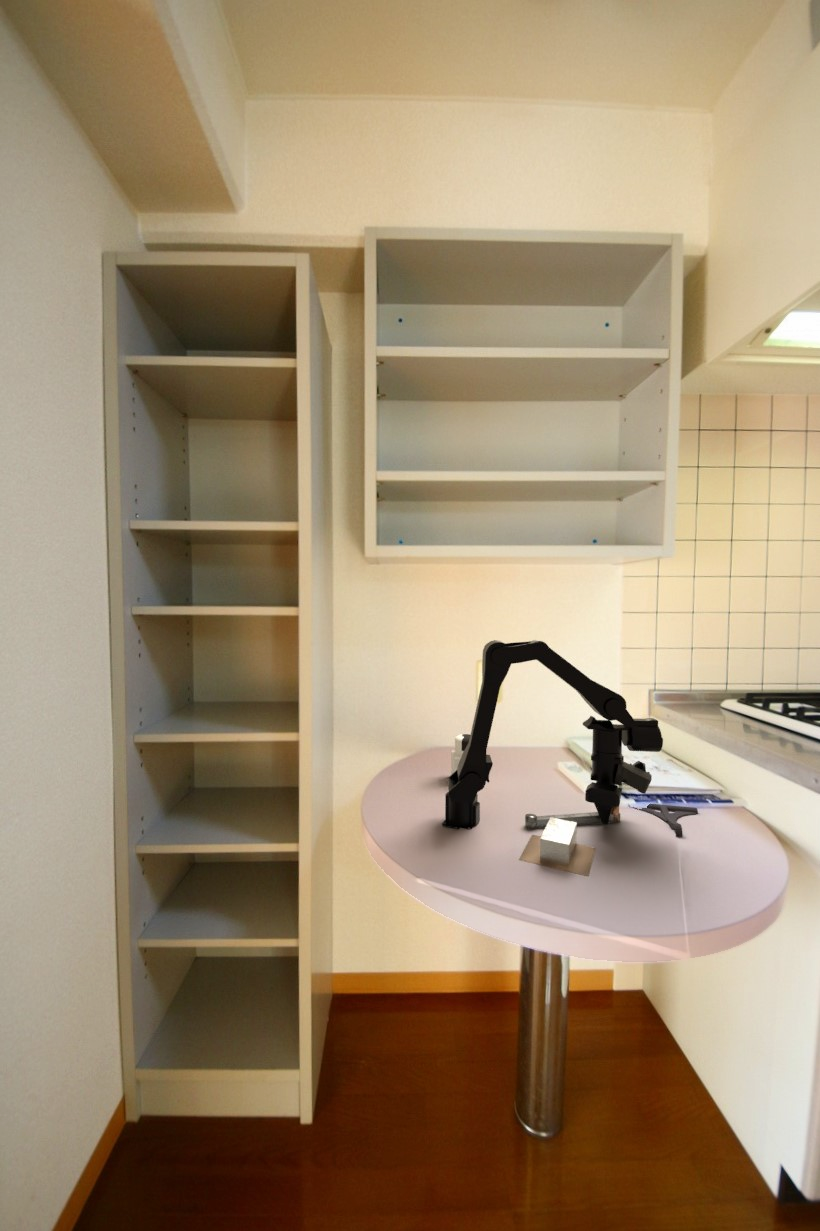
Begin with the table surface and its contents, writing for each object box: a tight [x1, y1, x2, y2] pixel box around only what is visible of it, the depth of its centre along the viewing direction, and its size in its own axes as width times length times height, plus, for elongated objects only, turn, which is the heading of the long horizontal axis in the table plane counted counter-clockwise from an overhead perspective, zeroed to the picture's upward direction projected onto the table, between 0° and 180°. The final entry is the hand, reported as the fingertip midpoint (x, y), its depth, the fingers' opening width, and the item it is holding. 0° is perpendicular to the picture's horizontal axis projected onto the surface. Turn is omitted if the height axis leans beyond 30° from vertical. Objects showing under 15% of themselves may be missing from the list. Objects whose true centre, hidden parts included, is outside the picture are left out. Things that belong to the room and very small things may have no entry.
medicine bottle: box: [450, 733, 471, 776], centre depth 131 cm, size 7×7×12 cm
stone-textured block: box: [540, 817, 578, 867], centre depth 92 cm, size 5×10×4 cm, turn 154°
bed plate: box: [518, 834, 596, 877], centre depth 91 cm, size 12×11×1 cm
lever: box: [524, 806, 621, 830], centre depth 104 cm, size 21×2×4 cm, turn 100°
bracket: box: [638, 803, 699, 838], centre depth 107 cm, size 14×15×3 cm
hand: (605, 823), depth 103 cm, fingers closed
